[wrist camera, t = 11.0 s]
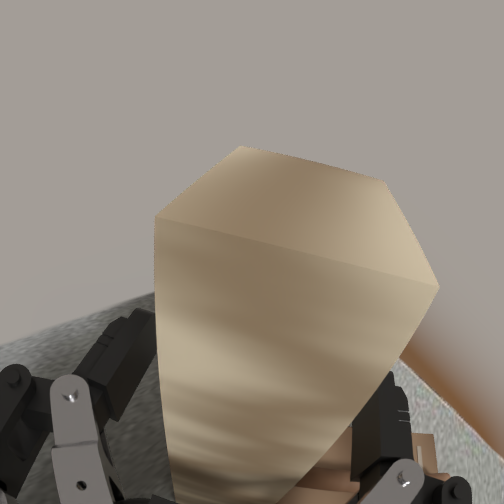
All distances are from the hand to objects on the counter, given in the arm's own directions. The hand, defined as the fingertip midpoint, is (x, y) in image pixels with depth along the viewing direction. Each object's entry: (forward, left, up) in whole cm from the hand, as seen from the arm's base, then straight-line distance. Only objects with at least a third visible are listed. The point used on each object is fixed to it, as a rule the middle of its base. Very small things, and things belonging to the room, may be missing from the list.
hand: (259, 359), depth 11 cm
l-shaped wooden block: (+5, -2, -9) cm, 11 cm away
